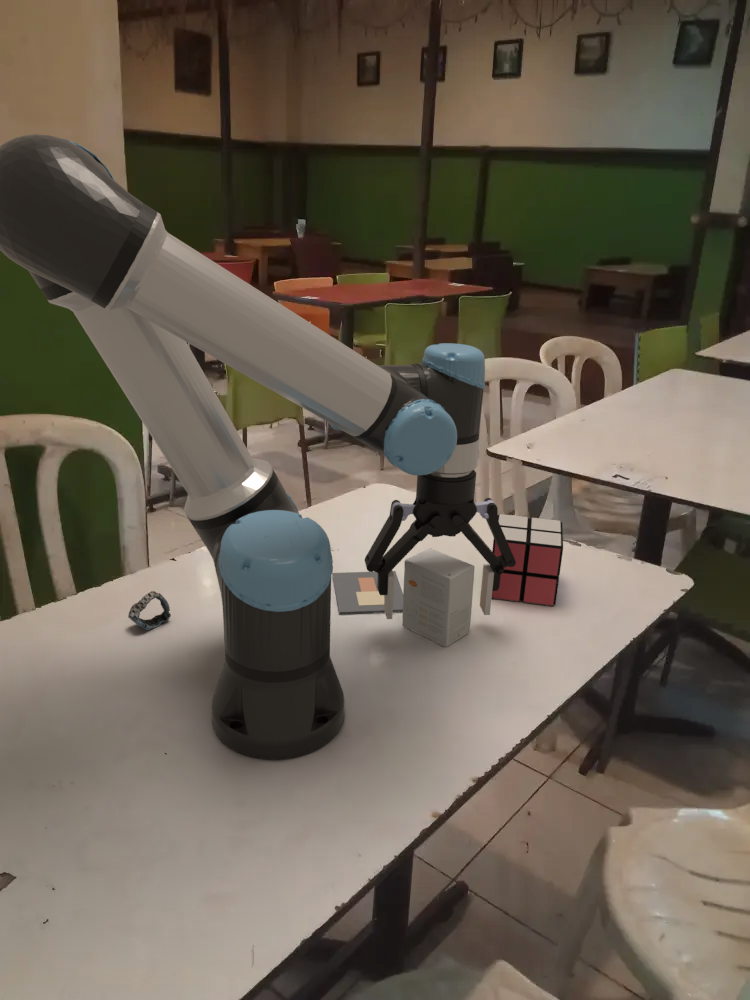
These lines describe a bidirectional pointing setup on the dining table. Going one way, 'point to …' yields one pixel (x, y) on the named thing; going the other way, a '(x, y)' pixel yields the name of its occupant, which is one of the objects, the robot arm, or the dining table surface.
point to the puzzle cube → (531, 560)
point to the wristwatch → (142, 605)
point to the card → (363, 593)
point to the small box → (437, 596)
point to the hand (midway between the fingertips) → (436, 612)
